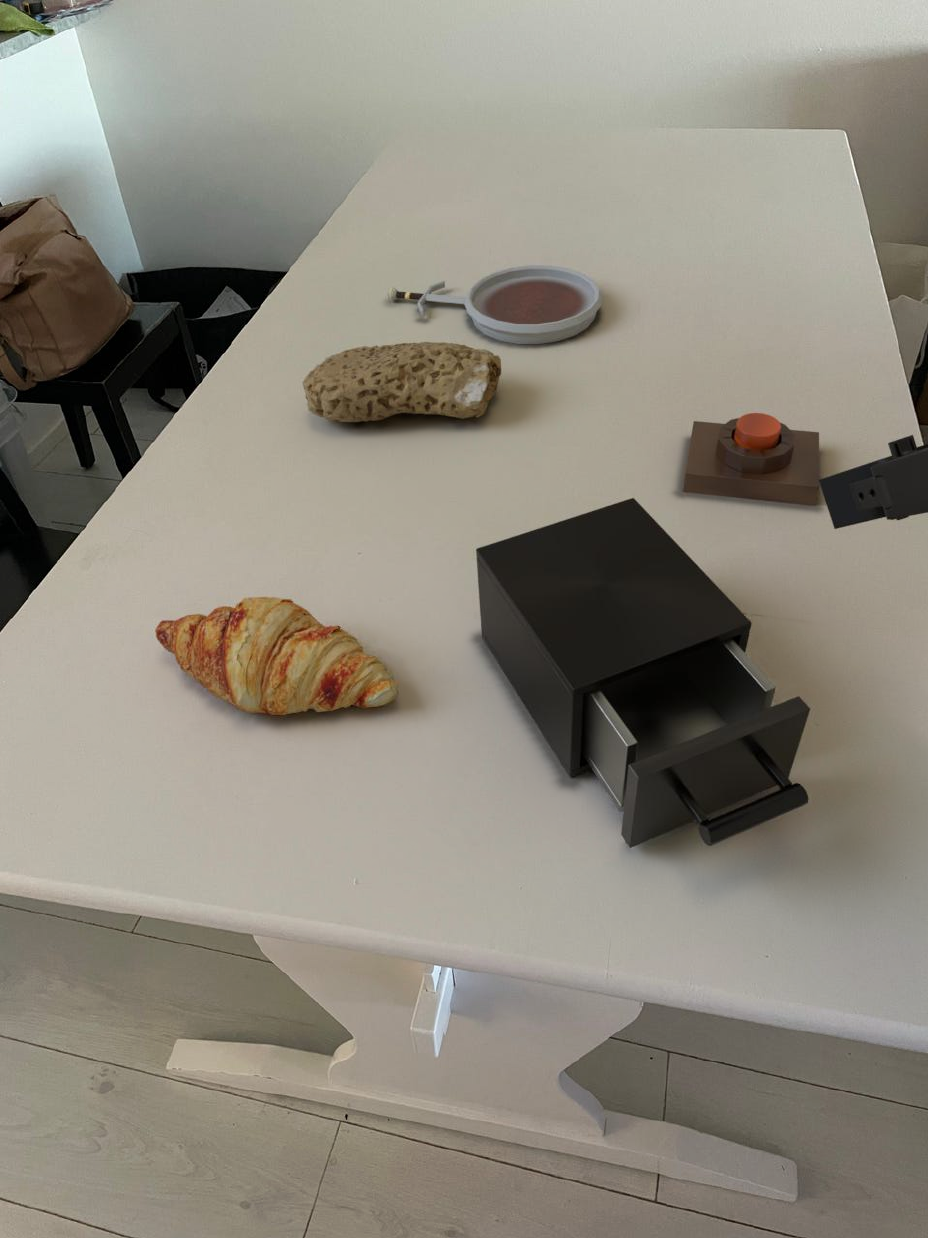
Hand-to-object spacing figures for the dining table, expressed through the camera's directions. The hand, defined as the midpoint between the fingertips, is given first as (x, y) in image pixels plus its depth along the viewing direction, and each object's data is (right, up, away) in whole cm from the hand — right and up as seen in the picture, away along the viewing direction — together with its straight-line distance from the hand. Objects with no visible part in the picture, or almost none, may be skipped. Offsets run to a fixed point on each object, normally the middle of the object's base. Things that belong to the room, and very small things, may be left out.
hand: (839, 499), depth 48 cm
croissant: (-35, -11, +26) cm, 45 cm away
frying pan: (-16, +33, +69) cm, 78 cm away
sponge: (-26, +17, +53) cm, 62 cm away
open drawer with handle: (-5, -16, +17) cm, 24 cm away
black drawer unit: (-9, -10, +24) cm, 28 cm away
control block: (+8, +8, +42) cm, 43 cm away
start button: (+8, +11, +39) cm, 41 cm away
